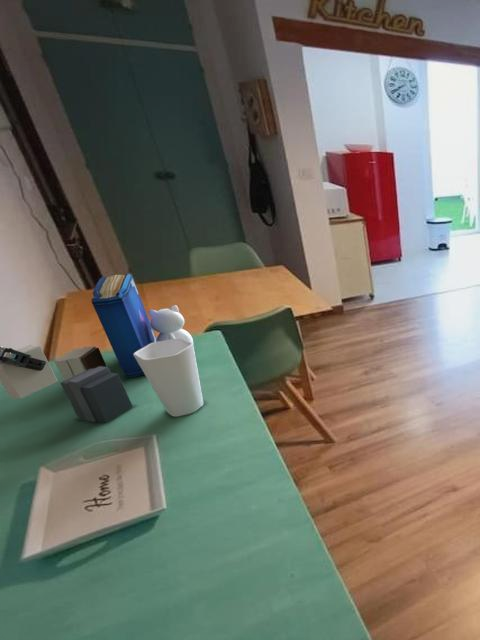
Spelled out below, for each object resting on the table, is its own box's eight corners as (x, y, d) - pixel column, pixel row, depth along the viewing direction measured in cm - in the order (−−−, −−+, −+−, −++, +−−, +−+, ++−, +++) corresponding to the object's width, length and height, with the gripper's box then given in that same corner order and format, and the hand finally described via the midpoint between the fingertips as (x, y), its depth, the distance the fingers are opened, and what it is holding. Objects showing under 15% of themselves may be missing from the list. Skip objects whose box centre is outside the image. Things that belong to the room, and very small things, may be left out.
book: (155, 375, 119) (122, 292, 108) (122, 382, 116) (85, 297, 105) (159, 346, 135) (131, 271, 124) (131, 351, 132) (99, 275, 121)
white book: (9, 397, 86) (-12, 360, 82) (48, 380, 92) (30, 344, 88) (20, 399, 85) (-1, 361, 82) (58, 381, 92) (40, 345, 88)
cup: (155, 425, 99) (129, 363, 92) (161, 403, 107) (137, 344, 100) (211, 412, 105) (190, 352, 97) (213, 392, 112) (194, 335, 105)
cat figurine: (193, 342, 138) (178, 300, 132) (199, 356, 130) (184, 312, 123) (158, 350, 133) (142, 306, 126) (163, 365, 124) (145, 319, 118)
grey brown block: (68, 390, 111) (53, 359, 107) (85, 376, 118) (72, 347, 114) (96, 387, 113) (82, 357, 109) (112, 374, 119) (99, 346, 115)
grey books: (77, 419, 100) (57, 380, 96) (108, 403, 107) (90, 365, 102) (105, 423, 99) (85, 383, 95) (134, 406, 106) (117, 368, 101)
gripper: (-32, 321, 73) (73, 351, 89) (-98, 314, 74) (17, 345, 91) (-57, 362, 70) (56, 386, 87) (-124, 354, 72) (-1, 379, 88)
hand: (36, 365), depth 89 cm, fingers closed on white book, 2 cm apart
